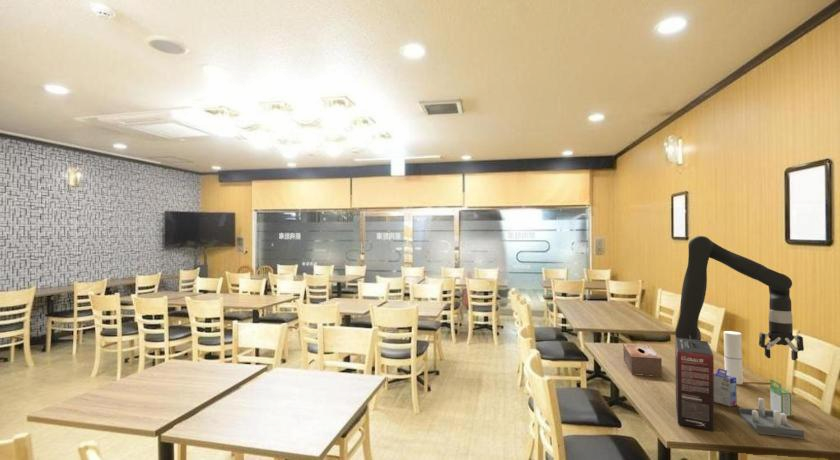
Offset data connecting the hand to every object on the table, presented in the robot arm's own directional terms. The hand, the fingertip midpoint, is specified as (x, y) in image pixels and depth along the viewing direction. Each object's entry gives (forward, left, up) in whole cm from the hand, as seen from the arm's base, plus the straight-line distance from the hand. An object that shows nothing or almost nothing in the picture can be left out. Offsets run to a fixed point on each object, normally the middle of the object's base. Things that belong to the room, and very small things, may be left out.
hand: (781, 358), depth 171 cm
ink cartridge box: (-20, +4, -23) cm, 31 cm away
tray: (-11, -17, -22) cm, 30 cm away
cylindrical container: (-5, +35, -23) cm, 42 cm away
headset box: (-36, -16, -23) cm, 46 cm away
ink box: (-1, -2, -23) cm, 23 cm away
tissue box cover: (-45, +46, -23) cm, 69 cm away
